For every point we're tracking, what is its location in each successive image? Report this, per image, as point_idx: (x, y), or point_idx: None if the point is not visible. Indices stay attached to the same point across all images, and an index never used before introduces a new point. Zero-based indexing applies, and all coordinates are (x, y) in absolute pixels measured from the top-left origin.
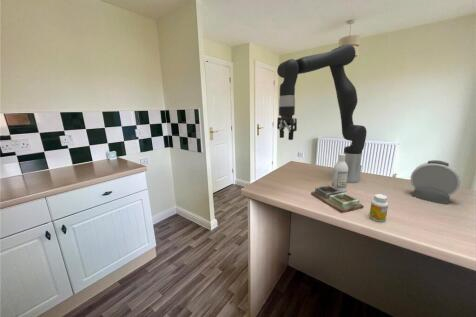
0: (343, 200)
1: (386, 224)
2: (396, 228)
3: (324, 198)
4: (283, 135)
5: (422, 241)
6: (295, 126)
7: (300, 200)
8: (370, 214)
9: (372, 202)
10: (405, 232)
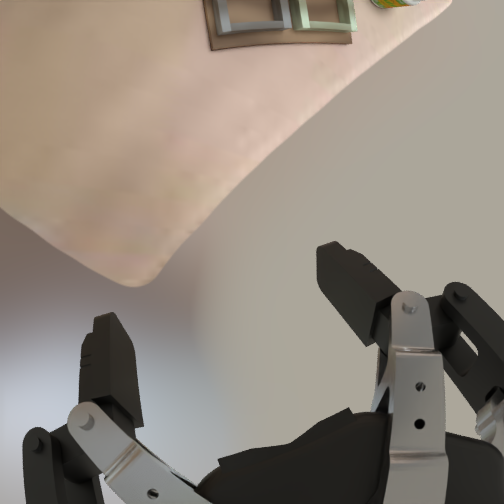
0: None
1: None
2: None
3: (276, 34)
4: (115, 335)
5: (433, 9)
6: (490, 331)
7: (250, 111)
8: (381, 4)
9: (406, 1)
10: None
